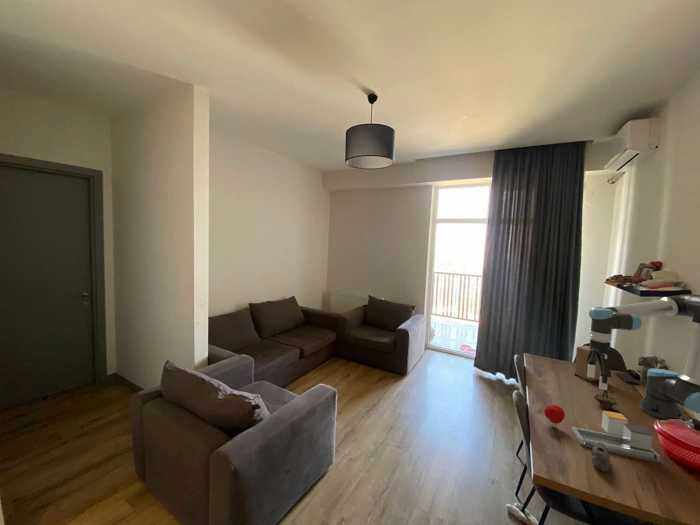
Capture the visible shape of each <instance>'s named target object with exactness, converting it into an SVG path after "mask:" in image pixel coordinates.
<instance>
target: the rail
mask: <svg viewBox="0 0 700 525" xmlns="http://www.w3.org/2000/svg"><path fill="white" fill-rule="evenodd" d="M571 433H572V434H573V436H574V437H575V439H576V440H577V442H578V444H579V445H580V446H581V447H585V448H589V449H593V447H594V445H595V444H596V443H598V442H601V443H603V444H604V445H605V446H606V448H607V450H608V453H613V454H617V455H621V456H622V455H623V456H626V457H631V458H635V459H639V460H645V461H649V462H654V463H659V464H660V463H661V456H660V455H659V454H658V453H657V452H656V451H655V450H654V449H653V438H654V434H653V433H652V432H651V431H649V430H648V429H647V428H646V427H645V426H641V425H640V426H639V425H634V424H629V423H628V424H625V423H624V431H623V436H618V435H613V434H608V433H607V432H606V433H604V432H600V431H595V430H590V429H586V428H579V427H576V426H574V425H573V426H572V427H571Z"/></svg>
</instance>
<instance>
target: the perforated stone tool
mask: <svg viewBox="0 0 700 525" xmlns="http://www.w3.org/2000/svg"><path fill="white" fill-rule="evenodd" d="M591 450H592V451H591V456H592V458H591V462H592V464H593V466H594V467H595V468H597V469H598V470H601V471H602V472H605V473H607V472H608V470H609V468H610V452H608V450H607V448H606V446H605V445H604V444H603V443H601V442H598V443H596V444H595V445H594V447H593V448H591Z"/></svg>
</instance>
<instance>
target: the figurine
mask: <svg viewBox="0 0 700 525" xmlns="http://www.w3.org/2000/svg"><path fill="white" fill-rule="evenodd" d="M598 391H601V389H599V388H598ZM608 391H609V392H610V393H611V395H615V394H614V390H612V389H610V388H609V387H608V386H607V390H603V392H602V395H601V394H596V395H595V396H594V397H593V398H594V399H595V401H597V402H598V405H599V406H600V407H601V408H602V409H605V410H609V409H610V408H613V406H616V405H617V406H618V405H619V404H618V402H617V401H616V400H615V398H613V397H609V394H608Z"/></svg>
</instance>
